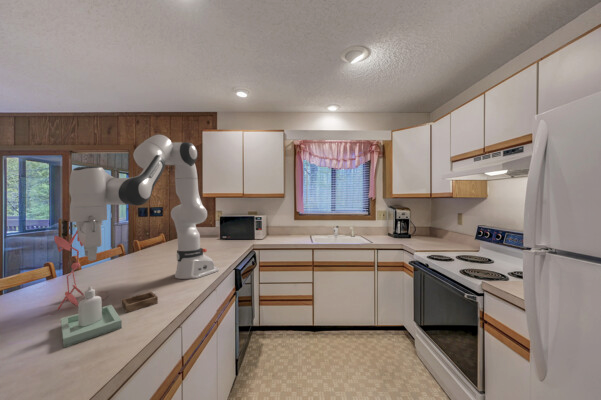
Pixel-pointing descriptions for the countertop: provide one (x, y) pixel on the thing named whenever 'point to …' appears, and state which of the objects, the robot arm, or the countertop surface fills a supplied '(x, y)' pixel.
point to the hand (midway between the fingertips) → (90, 257)
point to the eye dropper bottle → (89, 308)
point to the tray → (89, 327)
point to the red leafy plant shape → (66, 246)
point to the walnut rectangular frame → (139, 301)
